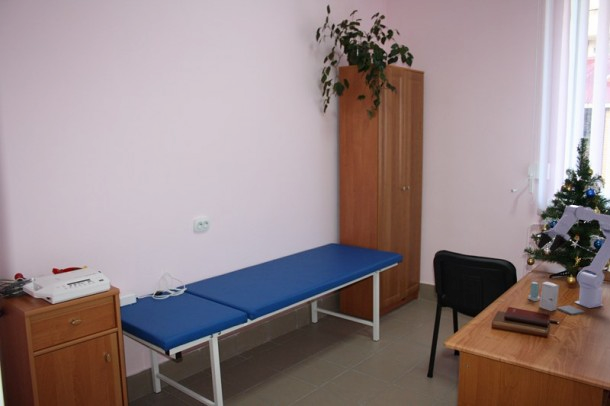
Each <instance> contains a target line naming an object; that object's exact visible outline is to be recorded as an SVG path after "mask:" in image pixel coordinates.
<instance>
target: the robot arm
mask: <svg viewBox="0 0 610 406" xmlns="http://www.w3.org/2000/svg"><path fill="white" fill-rule="evenodd" d="M578 220H583V221H587V222H592V221H598V225H599V227H600V229H601V231H602V234H603V235H604V236H605V240H604V242H603V243H602V245H601V247H600V249H599V250H598V252H597V253H596V255H595V257H594V258H593V260H592V262H590V264H589V265H588V266H584V267H583V268H582V269H581V270H580V271H579V272H578V274H577V275H576V281H577V282H578V285H579V299H578V300H577V301H576V300H575V301H574V303H575V304H577V305H580V306H582V307H585V308H589V309H591V308H596V307H597V308H598V307H602V306H604V304H603V303H602V301H603V300H602V299H603V289H602V288H601V287H602V286H603V284H604V280H605V277H606V275H605V274H604V272H603V270H604V268H605V267H606V266H607V263H608V262H609V260H610V215H609V214H603V213H597V212H595V210H594V209H593V208H591V207H589V206H586V207H584V206H583V205H573V204H570V205H568V206H565V208H564V212H563V213H562V216H561V218H560V219H559V220H558V221H557V222H556V223H555V225H554V227H553V228H552V227H550V228H549V229H547V230H543V231H542V232H540V238H539V240H538V243H537V247H538V249H539V250H541V249H542V248H544V247H545V246H546V244H547V245H548V243H550V242H551V241H552V238H554V240H553V242H552V244H550V247H549V250H550V251H551V252H552V253H553V252H556V250H558V249H559V248H560V247H563V246H565V245H567V244H568V242H567V241H569V240H570V239H571V236H570V235H569V234H568V232H569V231H570V230H571V228H572V227H573V226H574V224H575V223H577V221H578Z"/></svg>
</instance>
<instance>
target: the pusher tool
mask: <svg viewBox="0 0 610 406" xmlns="http://www.w3.org/2000/svg"><path fill="white" fill-rule="evenodd" d="M539 285H540V284H539V282H536V281H533V282H532V281H531V283H530V293H529V294H530V295H527V299H528V300H531V301H532V302H538V301H540V300H541V296H539V287H540V286H539Z"/></svg>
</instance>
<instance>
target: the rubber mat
mask: <svg viewBox="0 0 610 406" xmlns="http://www.w3.org/2000/svg"><path fill="white" fill-rule="evenodd" d="M556 310H558V311H560V312H563V313H566V314H568V315H571V316H574V315H580V314H585V310H582V309H580V308H579V307H578V308H577V307H574V306H573V305H570V304H569V305H562V306H558V307H557V308H556Z"/></svg>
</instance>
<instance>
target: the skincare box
mask: <svg viewBox="0 0 610 406" xmlns="http://www.w3.org/2000/svg"><path fill="white" fill-rule="evenodd" d="M559 288H560V285H559V284H556V283H554V282H550V281H544V282H542V283H541V290H540V300H539V308H540V309H544V310H547V311H550V312H553V311H556V310H557V305H558V296H559V290H560V289H559Z"/></svg>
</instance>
